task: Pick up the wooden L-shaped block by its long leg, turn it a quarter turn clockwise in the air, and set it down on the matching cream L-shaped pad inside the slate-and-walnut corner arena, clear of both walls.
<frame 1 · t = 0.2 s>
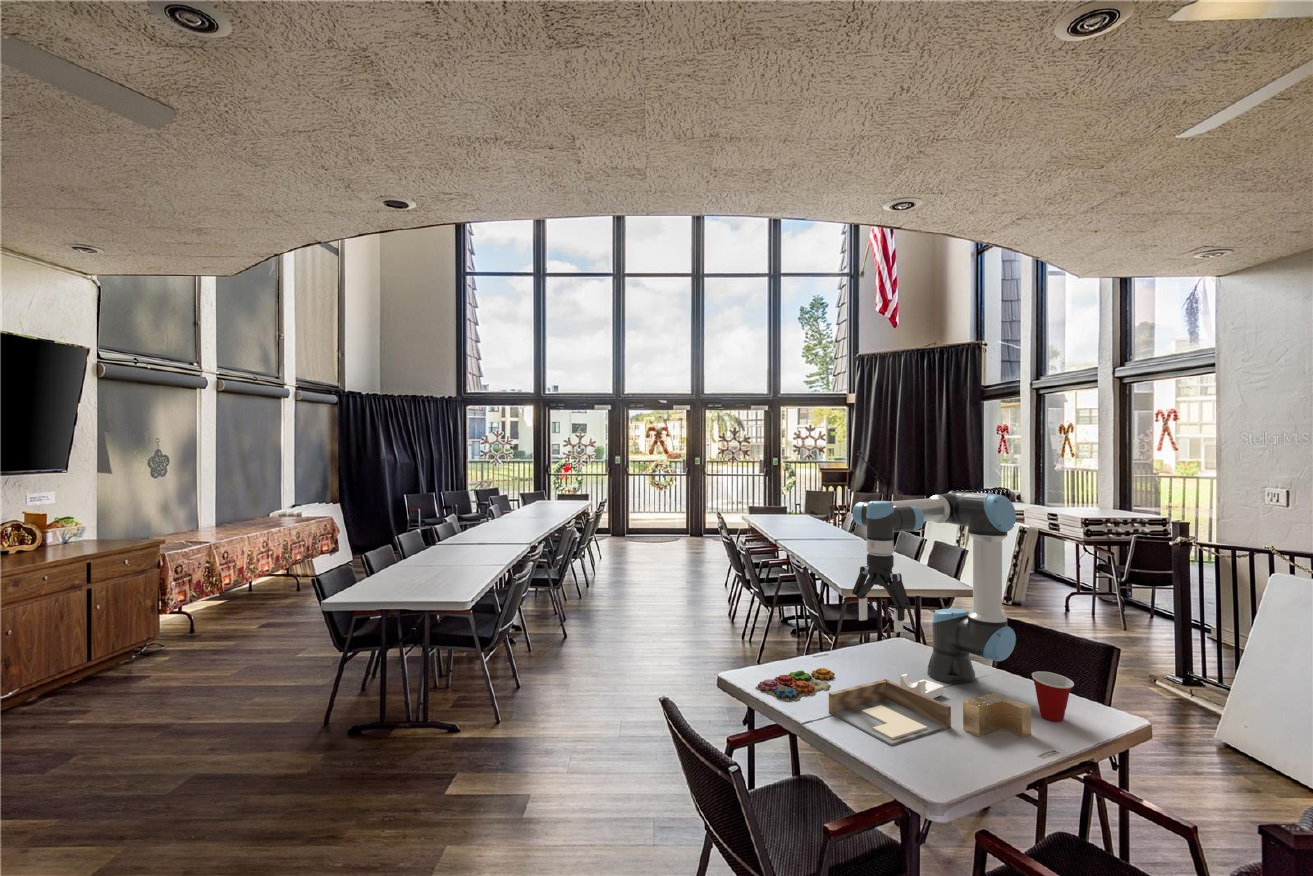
hand: (880, 625, 191), 28 cm above the table, tool pointing down, fingers open, 13 cm apart
bracket: (922, 698, 207), on the table
wooden l-shaped block: (987, 727, 185), on the table
arena: (888, 719, 191), on the table
gear puzzle: (803, 687, 218), on the table
plastic cup: (1052, 719, 192), on the table
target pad: (893, 722, 189), resting on arena
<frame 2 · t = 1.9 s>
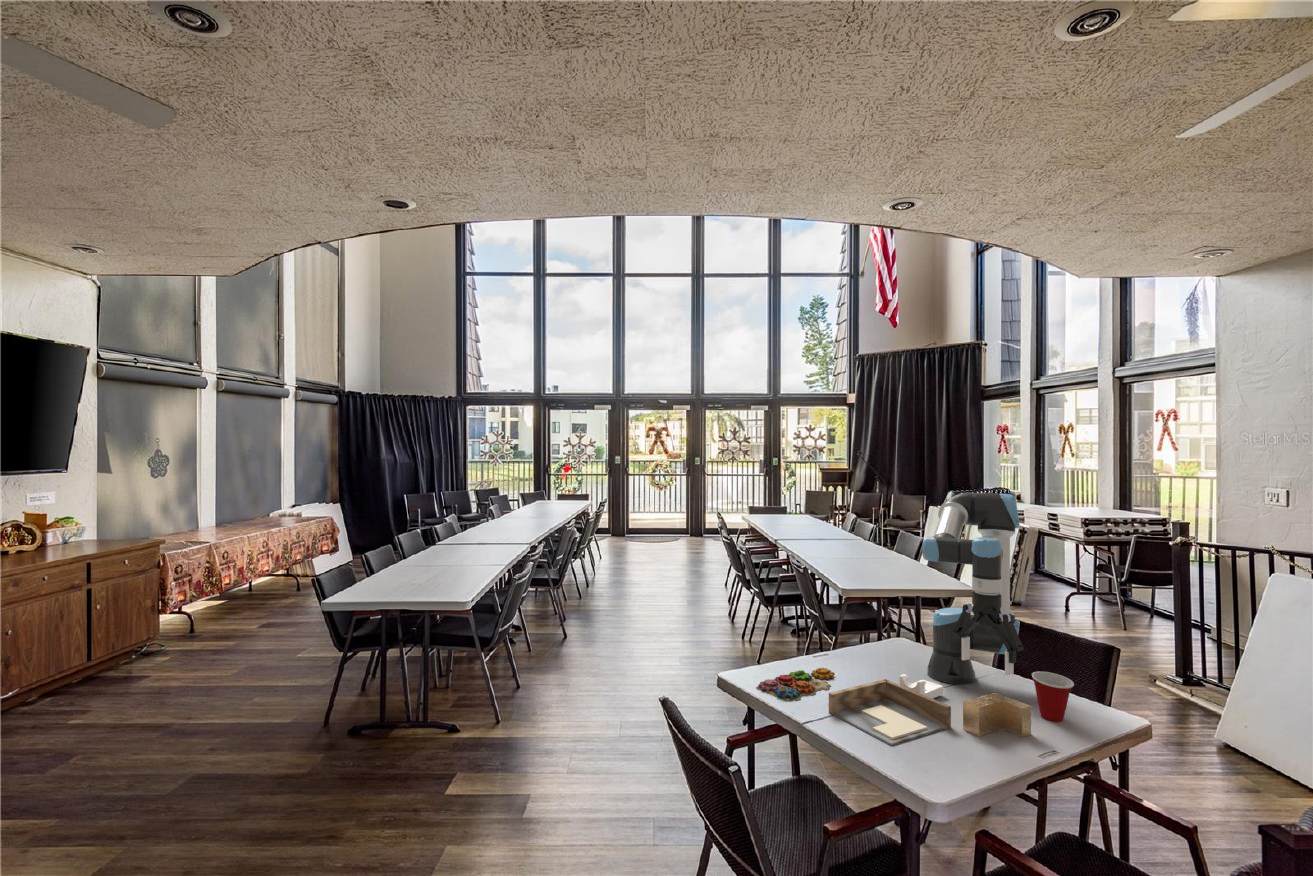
hand: (986, 666, 185), 18 cm above the table, tool pointing down, fingers open, 13 cm apart
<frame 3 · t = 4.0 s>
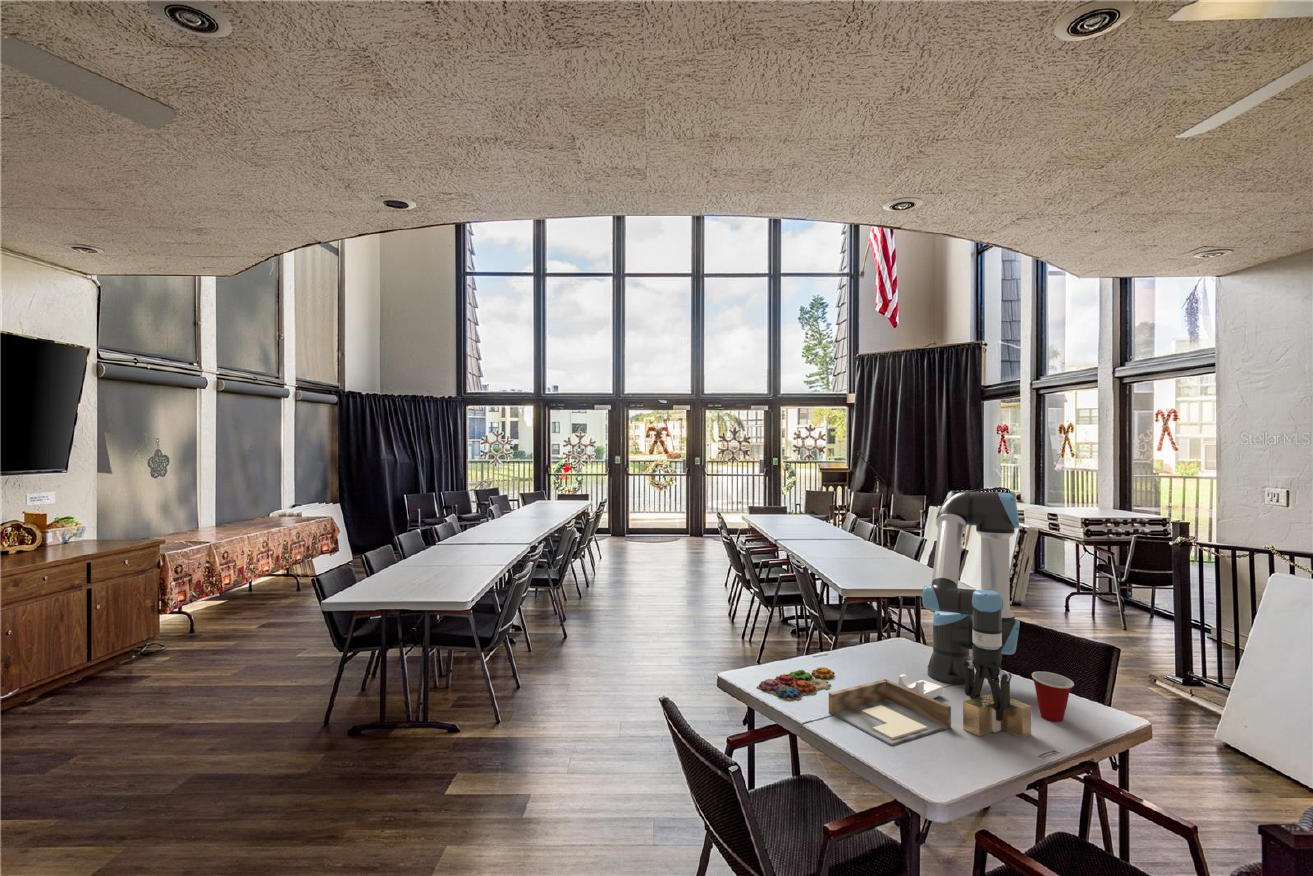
hand: (987, 726, 185), 0 cm above the table, tool pointing down, fingers closed on wooden l-shaped block, 5 cm apart
wooden l-shaped block: (987, 727, 185), on the table, touching gripper
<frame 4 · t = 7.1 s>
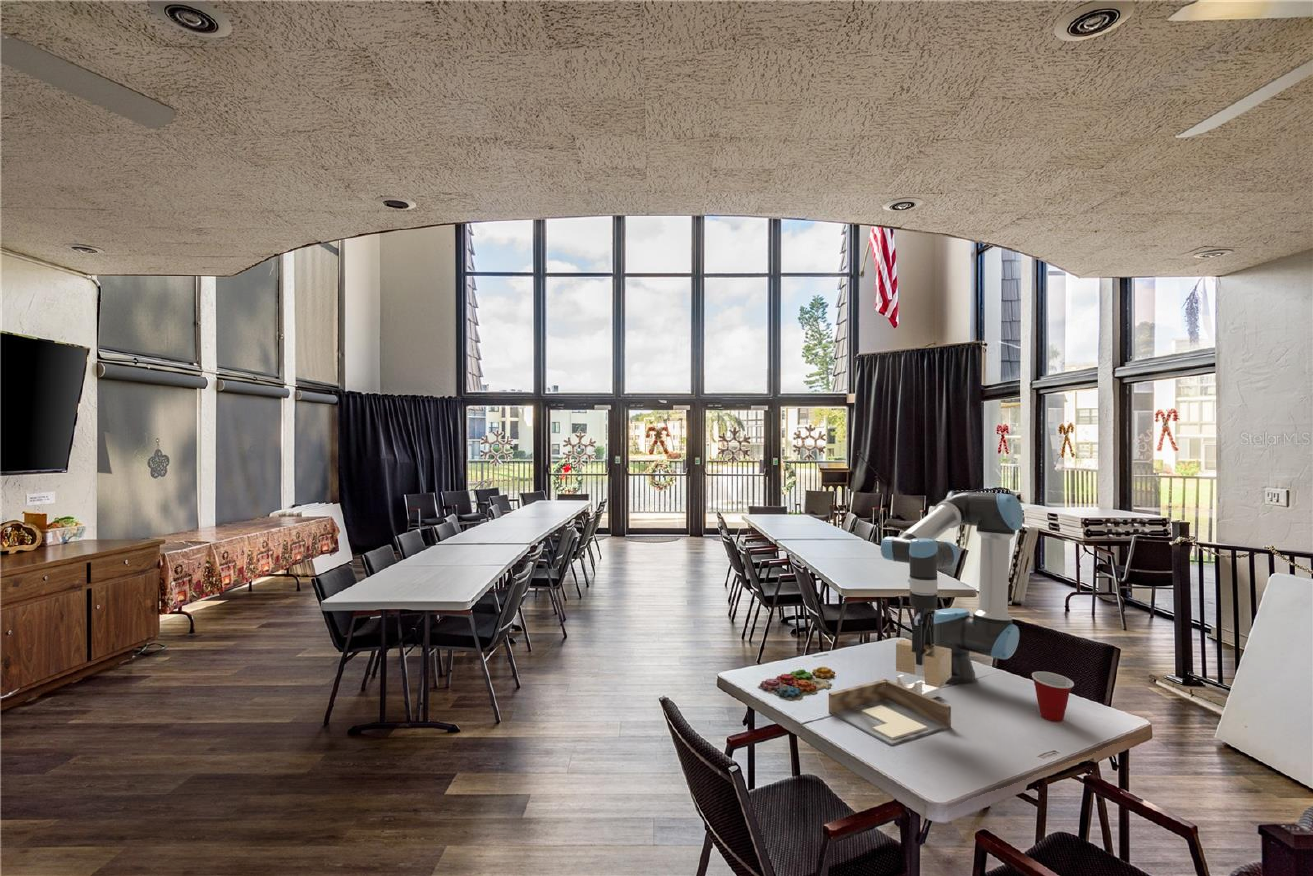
hand: (923, 672, 187), 15 cm above the table, tool pointing down, fingers closed on wooden l-shaped block, 5 cm apart
wooden l-shaped block: (923, 673, 187), point 15 cm above the table, touching gripper
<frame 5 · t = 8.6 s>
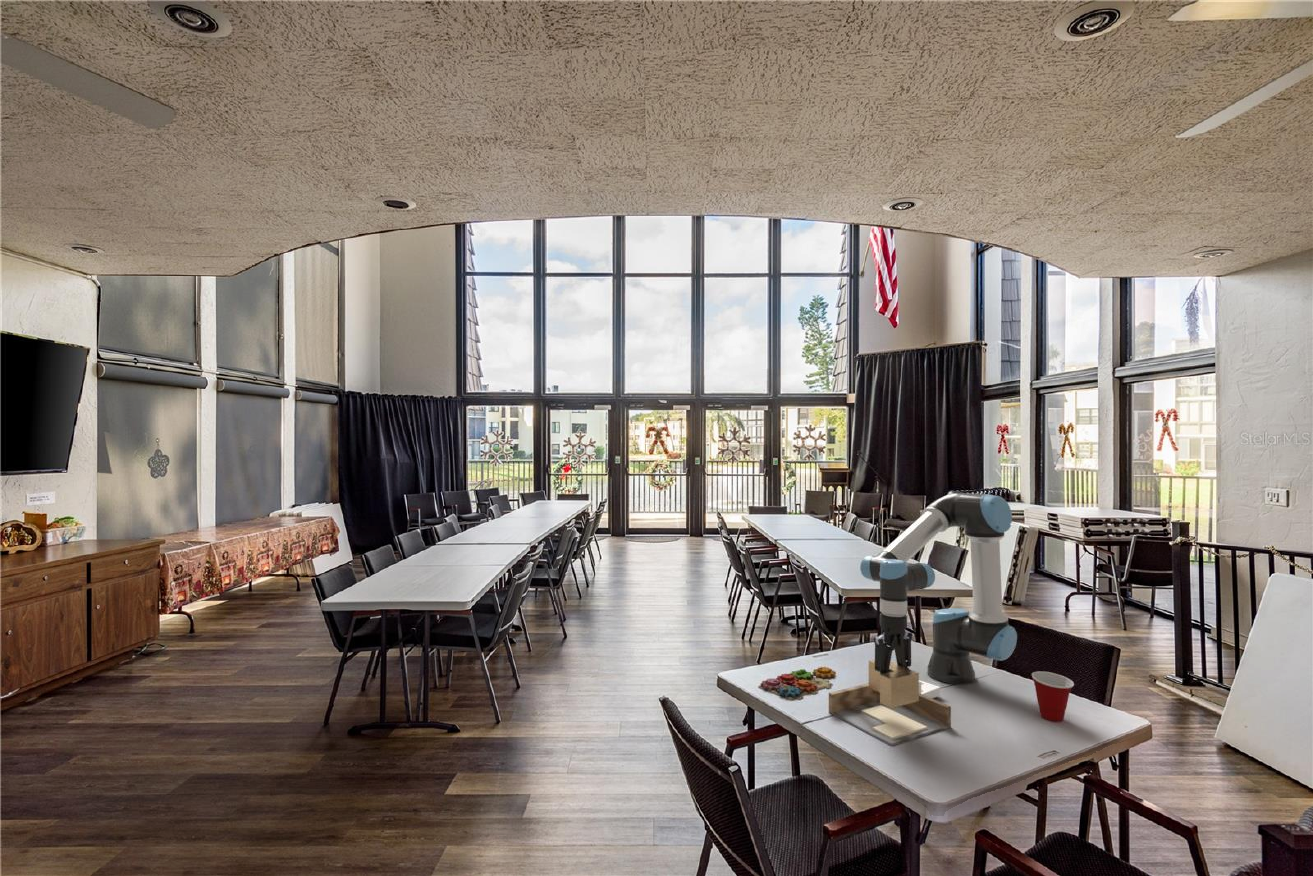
hand: (893, 693, 189), 9 cm above the table, tool pointing down, fingers closed on wooden l-shaped block, 5 cm apart
wooden l-shaped block: (893, 694, 189), point 8 cm above the table, touching gripper
when the fingers open (3 cm above the table, at t = 10.0 s): wooden l-shaped block drops 1 cm, resting on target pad.
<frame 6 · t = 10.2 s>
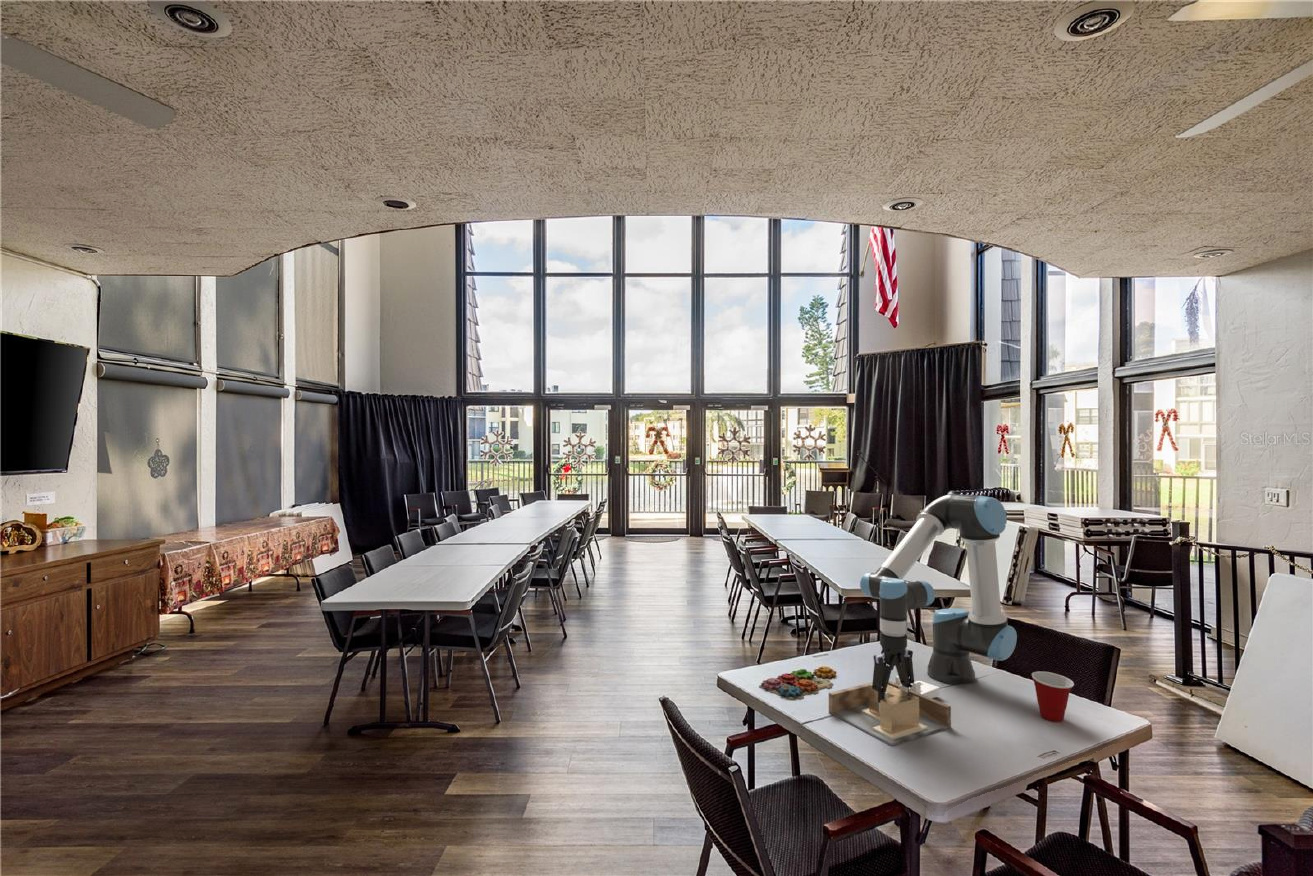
hand: (893, 711, 189), 3 cm above the table, tool pointing down, fingers open, 7 cm apart
wooden l-shaped block: (893, 718, 189), point 1 cm above the table, touching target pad
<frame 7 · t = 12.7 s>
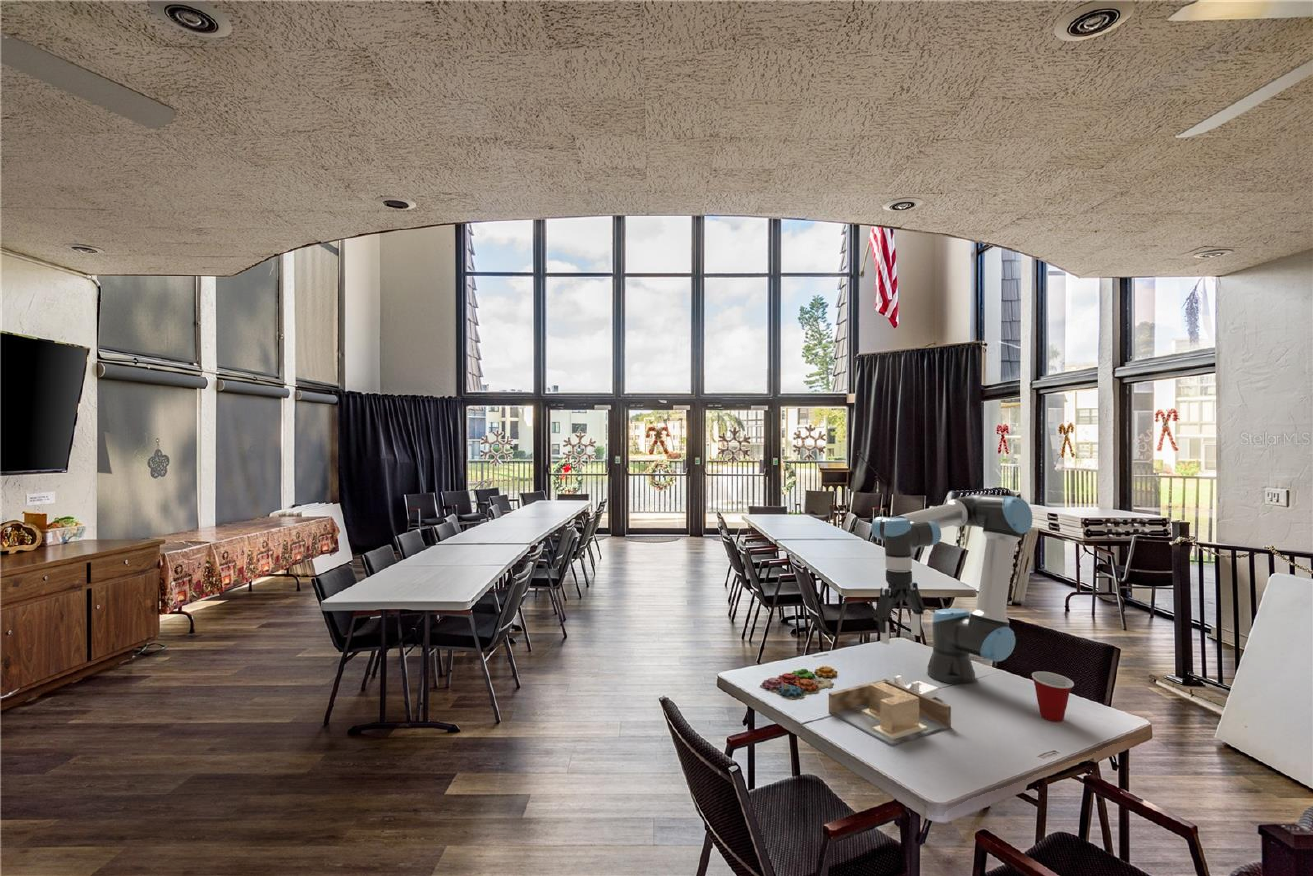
hand: (900, 639, 197), 22 cm above the table, tool pointing down, fingers open, 13 cm apart
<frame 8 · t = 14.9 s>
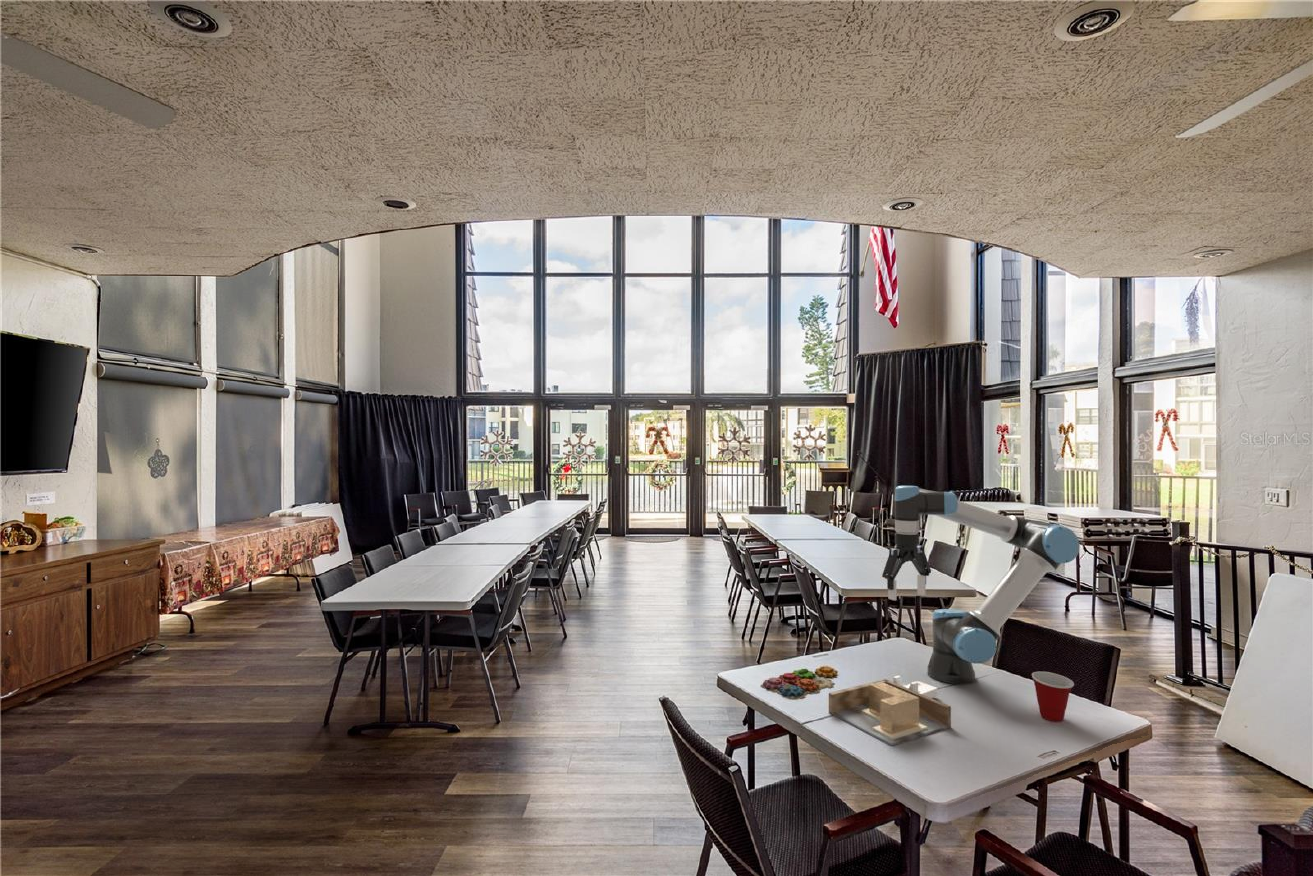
hand: (907, 597, 213), 31 cm above the table, tool pointing down, fingers open, 13 cm apart
at the end: wooden l-shaped block 0.0 cm from the target spot, point 1.2 cm above the table; wooden l-shaped block tilted 0°; wooden l-shaped block touching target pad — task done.
